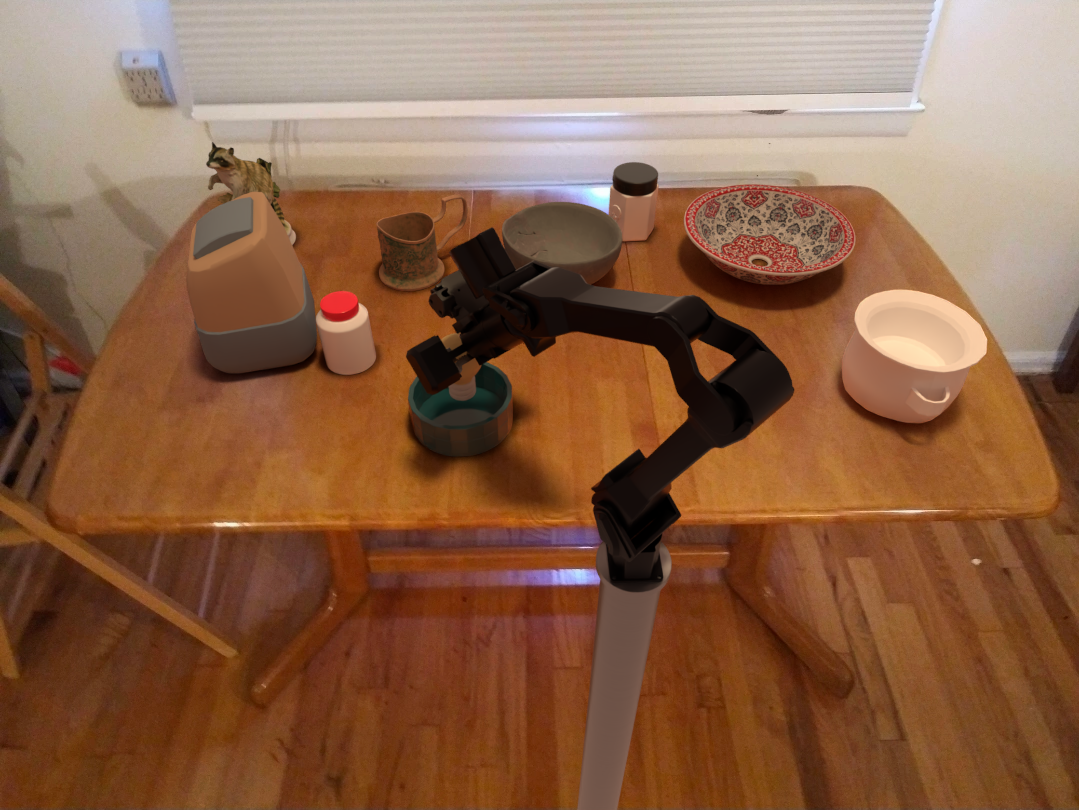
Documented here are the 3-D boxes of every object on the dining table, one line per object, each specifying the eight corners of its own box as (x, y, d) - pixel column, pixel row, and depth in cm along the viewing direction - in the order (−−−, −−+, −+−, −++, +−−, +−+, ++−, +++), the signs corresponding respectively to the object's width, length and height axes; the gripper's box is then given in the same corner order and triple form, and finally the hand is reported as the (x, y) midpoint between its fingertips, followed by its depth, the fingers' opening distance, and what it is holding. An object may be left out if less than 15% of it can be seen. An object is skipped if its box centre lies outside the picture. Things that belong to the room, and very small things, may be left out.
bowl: (601, 322, 129) (605, 271, 122) (486, 298, 133) (483, 248, 126) (631, 257, 142) (636, 208, 135) (525, 237, 147) (525, 189, 140)
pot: (817, 343, 125) (837, 280, 116) (926, 345, 124) (955, 282, 116) (851, 443, 109) (878, 379, 101) (976, 447, 109) (1014, 382, 100)
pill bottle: (335, 340, 125) (322, 284, 118) (382, 345, 124) (372, 288, 117) (319, 372, 120) (304, 315, 112) (368, 377, 119) (356, 320, 111)
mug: (485, 265, 140) (482, 206, 132) (397, 298, 133) (388, 238, 125) (453, 237, 147) (448, 178, 139) (368, 267, 140) (357, 207, 132)
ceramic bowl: (712, 207, 155) (718, 169, 150) (860, 247, 145) (873, 209, 139) (652, 281, 137) (657, 242, 131) (817, 333, 127) (829, 293, 121)
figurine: (215, 251, 144) (180, 148, 130) (266, 217, 152) (239, 117, 138) (262, 268, 140) (231, 164, 126) (312, 233, 148) (288, 132, 134)
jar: (598, 226, 150) (602, 168, 141) (631, 213, 153) (636, 156, 145) (629, 247, 145) (634, 189, 136) (662, 234, 148) (669, 175, 140)
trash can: (214, 320, 129) (167, 193, 113) (317, 305, 132) (286, 179, 116) (210, 387, 117) (157, 256, 101) (323, 368, 120) (289, 238, 104)
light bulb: (482, 376, 112) (478, 320, 105) (488, 406, 107) (484, 350, 100) (438, 382, 111) (430, 326, 104) (442, 413, 106) (435, 357, 99)
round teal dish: (513, 455, 108) (512, 428, 104) (408, 458, 107) (403, 430, 103) (512, 384, 118) (511, 357, 114) (417, 386, 117) (412, 359, 114)
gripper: (528, 234, 95) (475, 273, 109) (405, 297, 86) (364, 331, 99) (573, 314, 97) (515, 343, 110) (456, 384, 87) (408, 406, 101)
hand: (453, 353), depth 105 cm, fingers closed on light bulb, 6 cm apart
